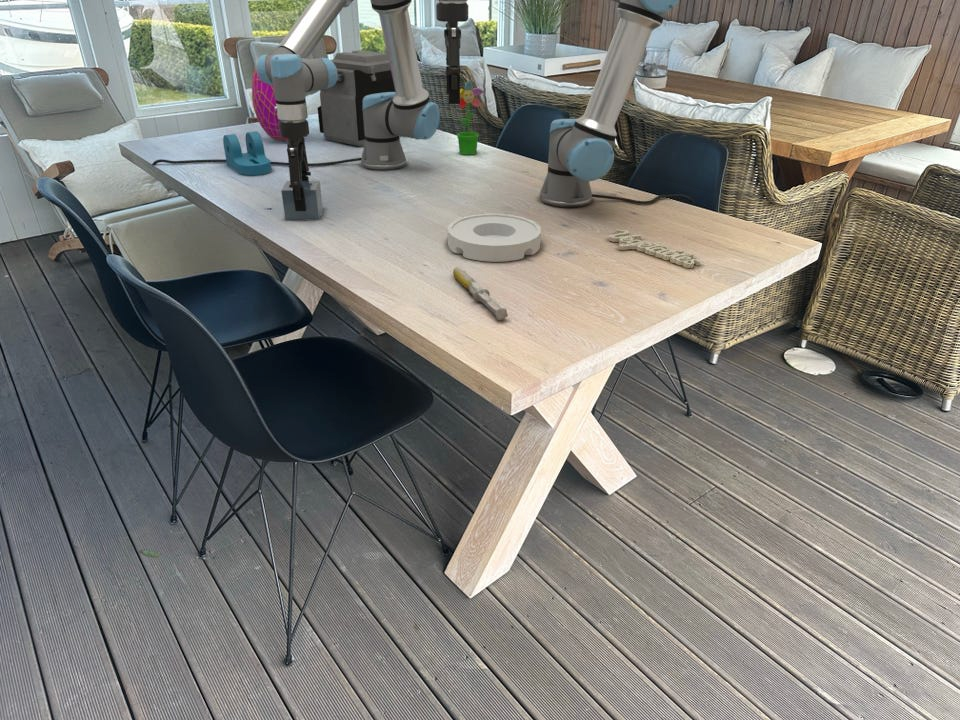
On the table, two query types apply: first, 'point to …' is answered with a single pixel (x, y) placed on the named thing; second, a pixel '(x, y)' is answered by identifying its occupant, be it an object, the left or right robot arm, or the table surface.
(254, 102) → the decorative egg
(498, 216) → the ashtray
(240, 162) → the camera mount
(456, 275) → the syringe
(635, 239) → the decorative sign
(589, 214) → the table surface
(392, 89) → the electronic device
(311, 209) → the block
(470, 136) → the potted flower
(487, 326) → the table surface
